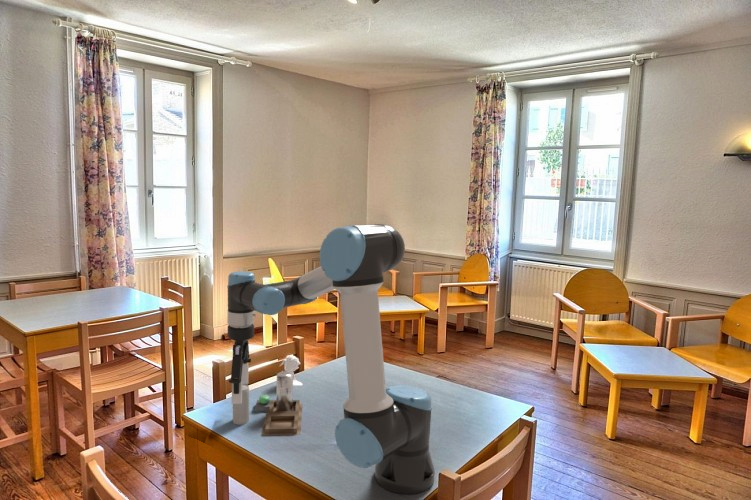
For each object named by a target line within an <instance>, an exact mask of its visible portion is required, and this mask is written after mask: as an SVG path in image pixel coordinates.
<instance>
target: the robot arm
mask: <svg viewBox="0 0 751 500" xmlns="http://www.w3.org/2000/svg"><path fill="white" fill-rule="evenodd" d="M405 252H406V244H405V241H404V238H403V237H402V235H401V233H400V232H399V231H398V230H397V229H396V228H394V227H392V226H390V225H388V224H383V223H377V224H376V223H375V224H366V225H365V224H364V225H363V224H360V225H359V224H358V225H351V224H350V225H347V226H341V227H336V228H333V230H331V231H329V232H328V234H327V235H326V237H325V238H324V239H323V241H322V243H321V245H320V250H319V263H320V264H319V265H320V266H318V267H316V268H314V269H312V270H310V271H308V272H306V273H304V274H303V275H300V276H298V277H297V278H294V279H292V280H291V279H290V280H285V281H278V282H272V283H267V284H262V283H258V282H257V281H256V277H255V274H254V272H251V271H246V270H245V271H244V270H241V271H240V270H237V271H233V272H231V273H229V275H228V277H227V319H226V320H227V324H228V325H227V338H228V339H229V340H231V341H234V344H233V345H232V360H231V361H232V362H231V373H230V374H231V375H230V379H229V380H228V383H230V384H231V404H232V405H233V404H241V403H242V384H245V385H248V384H249V363H251V362H252V359H251V358H250V349H249V340H251V339H253V338H254V336H255V325H254V324H255V317H257V313H255V312H258V313H260V314H262V315H267V316H274V315H275V316H276V315H277V314H279V313H280V312H281V311H282V310H283V309H285V308H290V307H294V306H295V307H296V306H298V305H307V304H310V303H312V302H315V301H316V300H317V299H318V298H317V297H320V296H322V295H324V294H327V293H329V292H331V291H334V290H336V291H337V293H339V295H340V306H341V317H342V318H341V319H342V328H343V329H342V330H343V340H344V341H343V342H344V352H345V364H346V373H347V374H346V375H347V376H346V377H347V388H348V398H347V399H346V400H345V401H344V403H343V404H342V406H343V418H342V419H340V420H339V422H338V423H337V425H335V429H334V439H335V442H336V445H337V448H338V449H339V452H340V453H341V454H342V455H343V456H344V458H345V459H346V460H347V461H348V462H349V464H352V466H355V467H357V468H360V469H366V468H369V467H372V466H374V465H375V466H374V468H375V469H374V477H375V480H376V482H377V483H378V484H379V485H380V486H381V487H382V488H383V489H386V490H387V491H390V492H392V493H396V494H402V495H405V494H406V495H413V494H415V495H416V494H419V493H422V492H425V491H427V490H428V489H430V488H431V487H432V486H433V484H434V482H435V473H436V472H435V467H434V463H433V460H432V455H431V452H430V434H431V423H432V422H431V421H432V419H431V418H432V410H433V408H432V397H431V396H430V394H429V393H428V392H427V391H425V390H424V389H421V388H419V387H416V386H410V385H404V384H399V385H398V384H395V385H390V386H388V387H386V373H385V365H384V364H385V363H384V349H383V340H382V339H383V338H382V336H383V335H382V328H381V327H382V326H381V314H380V313H381V312H380V304H379V303H380V302H379V290H380V289H381V287H382V285H383V284H384V283H385V282H384V273H386V272H390V271H392V270H394V269H395V268H397V267H398V266H399V265H400V264H401V263H402V261H403V258H404V256H405Z"/></svg>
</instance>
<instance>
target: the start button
mask: <svg viewBox="0 0 751 500" xmlns="http://www.w3.org/2000/svg"><path fill="white" fill-rule="evenodd" d="M258 400H259V403H261V404H267V403H269V401H270V400H271V399H270V395H268V394H265V395H264V394H263V395H260V396H259V397H258Z"/></svg>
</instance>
